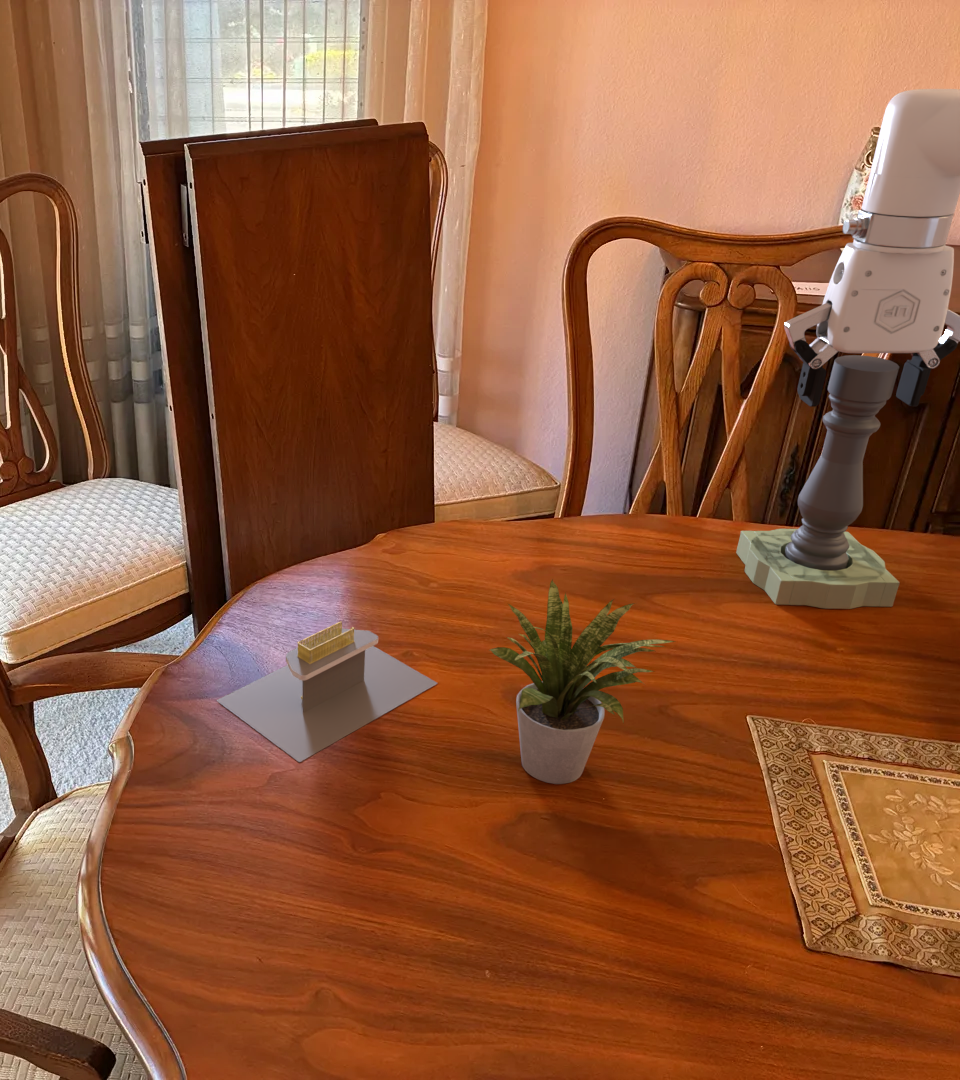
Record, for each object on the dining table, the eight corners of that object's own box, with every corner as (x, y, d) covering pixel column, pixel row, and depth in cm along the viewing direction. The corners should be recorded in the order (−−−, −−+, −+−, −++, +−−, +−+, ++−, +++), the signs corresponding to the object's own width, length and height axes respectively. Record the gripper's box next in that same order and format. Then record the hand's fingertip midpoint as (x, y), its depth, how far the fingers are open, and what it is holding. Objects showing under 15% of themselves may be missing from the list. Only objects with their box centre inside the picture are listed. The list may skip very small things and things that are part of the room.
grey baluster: (842, 572, 113) (902, 358, 102) (839, 597, 109) (902, 375, 97) (782, 560, 116) (833, 351, 105) (776, 584, 112) (829, 367, 100)
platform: (216, 700, 95) (213, 642, 92) (351, 633, 105) (352, 579, 102) (299, 762, 87) (299, 701, 84) (438, 683, 97) (442, 625, 94)
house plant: (595, 860, 76) (627, 683, 68) (436, 783, 84) (449, 618, 76) (664, 764, 85) (699, 599, 78) (515, 703, 93) (534, 549, 86)
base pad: (845, 551, 118) (851, 529, 116) (901, 610, 106) (909, 585, 105) (728, 550, 119) (733, 527, 118) (771, 607, 107) (777, 583, 106)
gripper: (823, 240, 93) (783, 414, 100) (1022, 236, 91) (966, 414, 99) (790, 226, 99) (756, 390, 107) (975, 222, 98) (926, 390, 105)
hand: (857, 402), depth 103 cm, fingers open, 9 cm apart
